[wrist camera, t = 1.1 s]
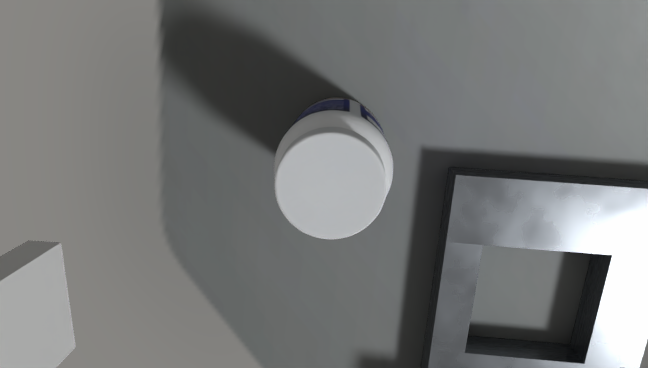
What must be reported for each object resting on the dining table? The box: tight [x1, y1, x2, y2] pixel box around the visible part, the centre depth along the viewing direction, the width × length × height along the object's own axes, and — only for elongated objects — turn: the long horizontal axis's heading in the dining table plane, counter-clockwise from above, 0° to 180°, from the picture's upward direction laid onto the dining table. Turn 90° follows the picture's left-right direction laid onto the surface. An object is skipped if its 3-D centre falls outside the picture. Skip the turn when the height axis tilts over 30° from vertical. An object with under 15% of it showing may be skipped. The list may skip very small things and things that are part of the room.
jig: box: [421, 167, 648, 368], centre depth 28 cm, size 20×16×5 cm
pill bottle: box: [274, 98, 393, 239], centre depth 23 cm, size 6×6×10 cm
